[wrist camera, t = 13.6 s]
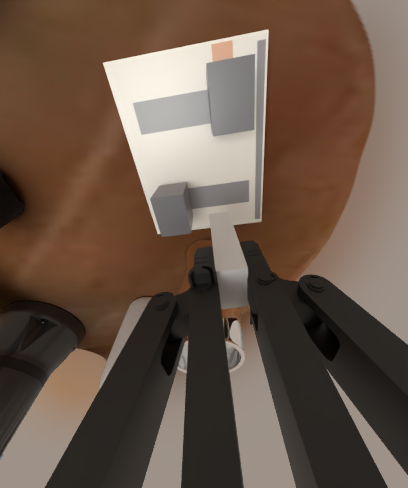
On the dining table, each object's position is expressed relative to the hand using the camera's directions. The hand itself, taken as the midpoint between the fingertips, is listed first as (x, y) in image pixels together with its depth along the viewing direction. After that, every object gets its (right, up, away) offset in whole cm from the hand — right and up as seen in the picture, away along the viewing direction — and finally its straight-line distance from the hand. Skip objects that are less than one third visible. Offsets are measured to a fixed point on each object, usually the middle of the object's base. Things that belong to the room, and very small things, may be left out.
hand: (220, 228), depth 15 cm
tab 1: (-4, +3, +6) cm, 8 cm away
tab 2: (+1, +11, +1) cm, 11 cm away
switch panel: (-2, +9, +6) cm, 11 cm away
